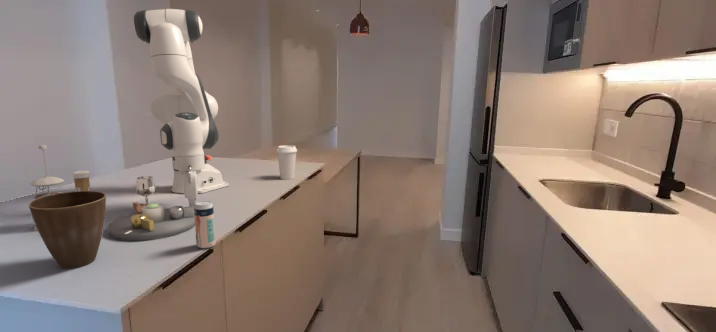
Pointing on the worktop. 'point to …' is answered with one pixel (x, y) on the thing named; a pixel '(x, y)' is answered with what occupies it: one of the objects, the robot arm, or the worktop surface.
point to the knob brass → (141, 222)
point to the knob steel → (181, 212)
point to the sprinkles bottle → (81, 181)
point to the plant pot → (71, 225)
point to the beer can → (204, 224)
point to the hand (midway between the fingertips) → (192, 204)
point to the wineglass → (145, 186)
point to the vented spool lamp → (45, 182)
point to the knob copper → (138, 207)
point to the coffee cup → (287, 161)
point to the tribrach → (162, 225)
